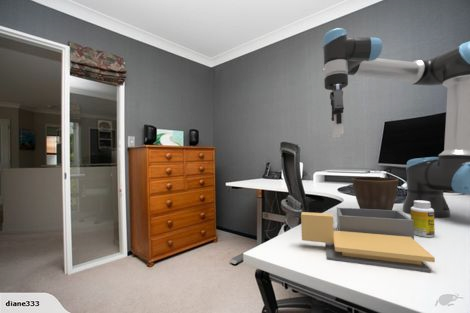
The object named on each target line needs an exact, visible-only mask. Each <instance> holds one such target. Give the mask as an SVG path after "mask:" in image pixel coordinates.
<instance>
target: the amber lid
mask: <svg viewBox="0 0 470 313" xmlns="http://www.w3.org/2000/svg"><path fill="white" fill-rule="evenodd" d="M300 220H301V224H300V225H301V241H303V242H304V241H305V242H313V243H323V244H324V243H325V244H326V243H332V244H334V247H335V251H338V252H342V255H343V256H351V257H359V258H368V259H376V260H385V261H393V262H402V263H410V264H419V265H421V261H422V262H427V263H435V262H436V259H435V257H434V256H433V254H431V253H430V252H429V251H428V250H427V249H425V248H424V247H423V246H422V245H421V244H420V243H418V241H416V240H415V238H414V239H413V238H411V237H405V236H393V235H381V234H369V233H357V232H345V231H338V230H334V215H333V213H327V212H326V213H325V212H324V213H323V212H310V211H309V212H308V211H307V212H306V211H301V215H300Z"/></svg>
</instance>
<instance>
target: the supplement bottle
mask: <svg viewBox="0 0 470 313" xmlns="http://www.w3.org/2000/svg"><path fill="white" fill-rule="evenodd" d="M430 207H431V205H430V202H429V201H421V200H415V201H414V206H413V207H411V214H410V219H412V220H413V221H414V236H419V237H423V238H433V237H434V236H435V234H436V232H435V227H436V226H435V217H434V210H433V209H432V208H430Z"/></svg>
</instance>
